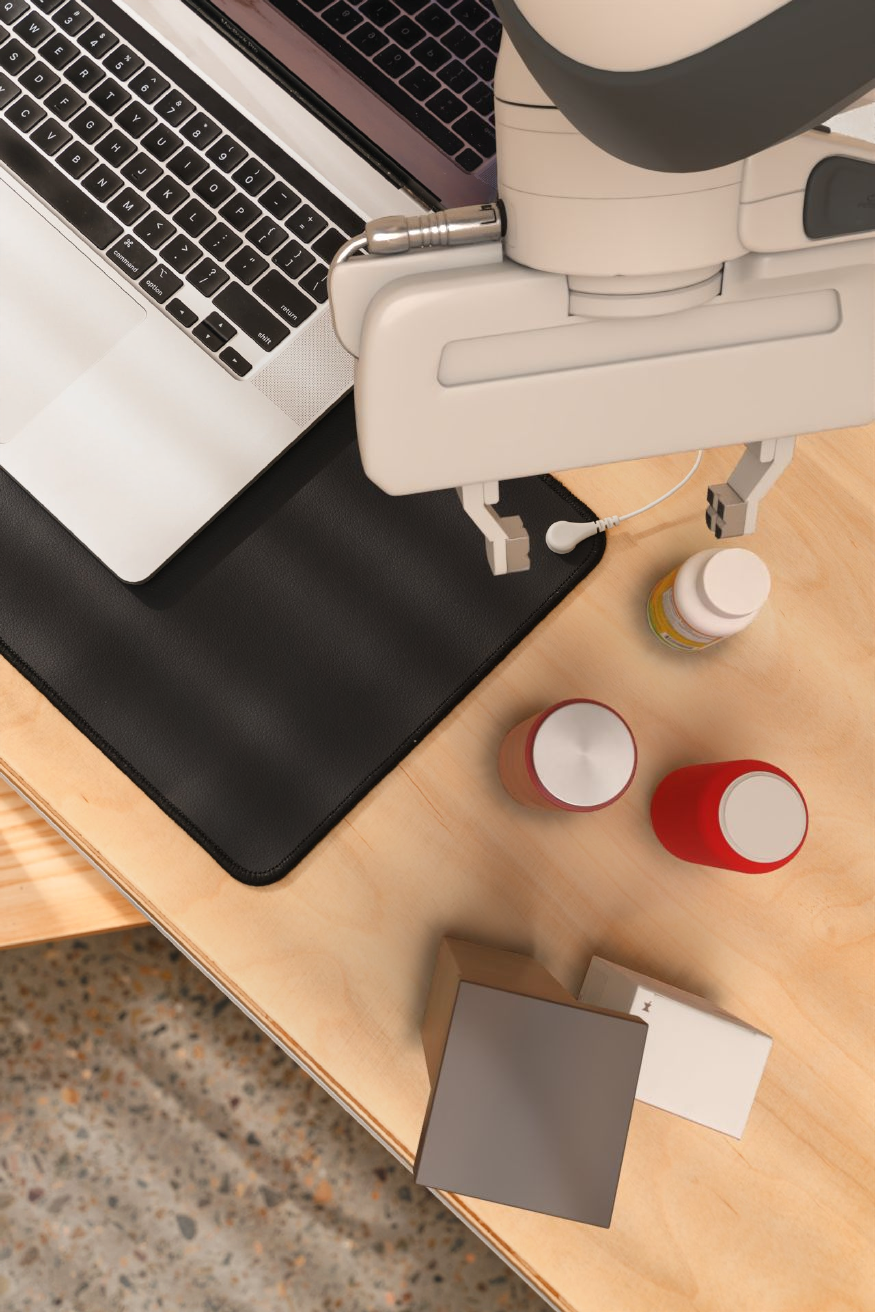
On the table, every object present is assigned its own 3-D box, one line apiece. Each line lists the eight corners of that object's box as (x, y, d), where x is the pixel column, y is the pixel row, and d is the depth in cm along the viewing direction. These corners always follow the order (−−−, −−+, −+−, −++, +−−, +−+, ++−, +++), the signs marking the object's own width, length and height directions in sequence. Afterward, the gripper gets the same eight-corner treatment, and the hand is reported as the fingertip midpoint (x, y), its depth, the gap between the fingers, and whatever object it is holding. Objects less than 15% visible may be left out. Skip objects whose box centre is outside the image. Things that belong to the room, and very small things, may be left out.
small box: (561, 1038, 61) (599, 1088, 50) (592, 952, 62) (635, 983, 51) (680, 1086, 61) (743, 1145, 50) (709, 999, 62) (777, 1039, 51)
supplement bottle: (709, 564, 66) (765, 523, 56) (735, 639, 65) (796, 612, 56) (634, 585, 65) (678, 548, 56) (659, 662, 65) (709, 638, 55)
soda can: (597, 729, 64) (651, 711, 51) (578, 819, 63) (628, 824, 50) (508, 707, 64) (540, 684, 51) (488, 798, 63) (515, 797, 50)
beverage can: (671, 878, 63) (739, 896, 51) (629, 789, 63) (687, 786, 51) (754, 838, 63) (841, 847, 51) (712, 750, 64) (788, 739, 52)
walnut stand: (553, 945, 62) (649, 1024, 40) (526, 1075, 60) (609, 1230, 39) (430, 916, 61) (459, 979, 40) (400, 1046, 60) (413, 1185, 38)
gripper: (324, 250, 29) (379, 631, 37) (977, 165, 30) (890, 548, 39) (311, 204, 34) (363, 549, 42) (872, 133, 35) (815, 478, 44)
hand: (619, 548), depth 40 cm, fingers open, 8 cm apart
